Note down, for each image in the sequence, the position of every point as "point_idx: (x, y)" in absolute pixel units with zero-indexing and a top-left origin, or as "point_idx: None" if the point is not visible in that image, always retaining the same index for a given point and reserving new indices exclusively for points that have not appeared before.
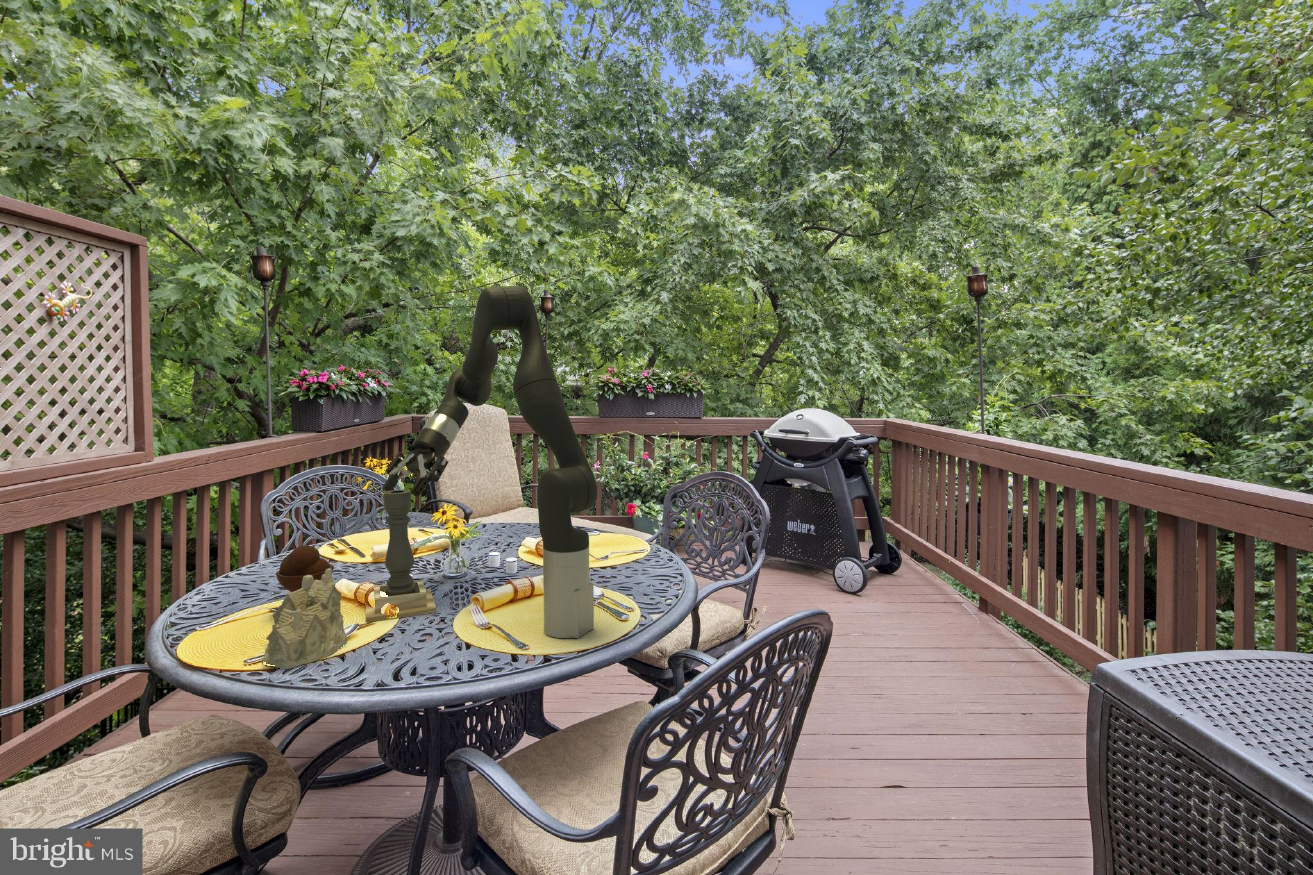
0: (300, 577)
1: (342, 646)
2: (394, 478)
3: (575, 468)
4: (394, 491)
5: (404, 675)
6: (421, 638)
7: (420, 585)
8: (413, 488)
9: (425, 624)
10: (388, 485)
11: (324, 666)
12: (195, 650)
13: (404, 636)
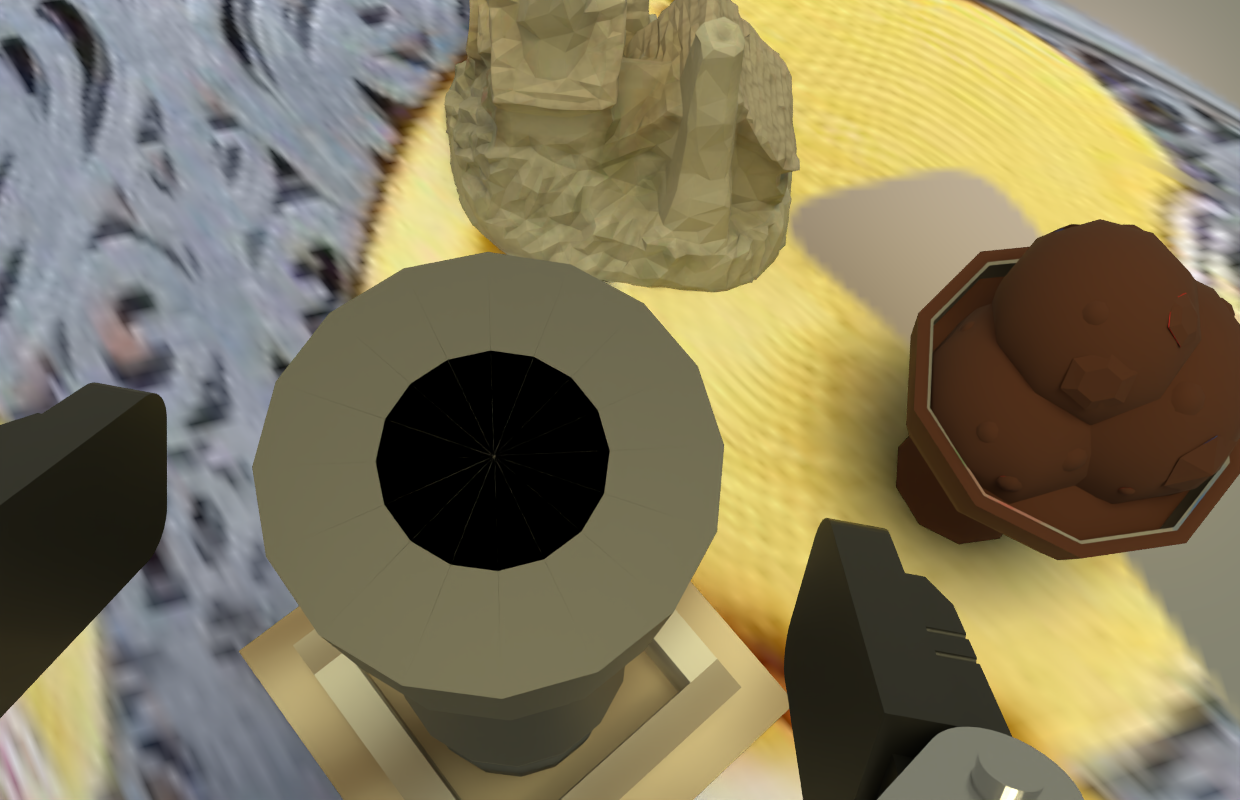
0: (965, 269)
1: (455, 177)
2: (849, 758)
3: None
4: (570, 479)
5: (44, 32)
6: (149, 325)
7: (427, 787)
8: (90, 396)
9: (219, 481)
10: (828, 599)
11: (399, 36)
12: (978, 51)
13: (246, 326)
